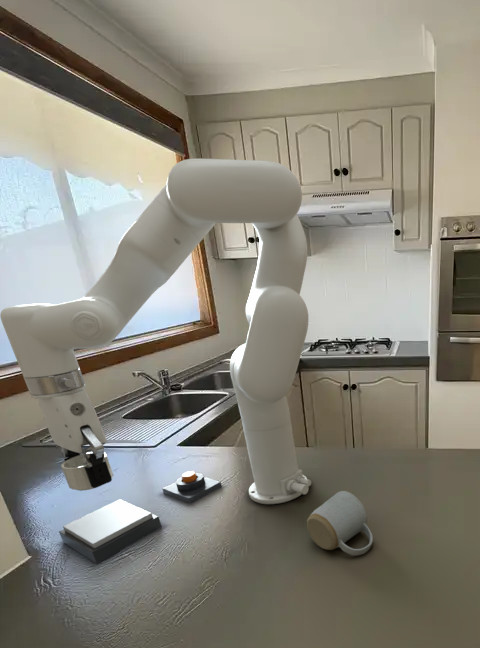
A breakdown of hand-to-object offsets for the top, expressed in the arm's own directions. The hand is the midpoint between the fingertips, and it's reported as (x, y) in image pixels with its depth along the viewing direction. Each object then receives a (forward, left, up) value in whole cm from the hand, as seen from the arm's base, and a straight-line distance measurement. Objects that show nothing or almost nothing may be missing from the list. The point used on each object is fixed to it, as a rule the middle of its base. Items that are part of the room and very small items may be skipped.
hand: (91, 479), depth 75 cm
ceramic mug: (-41, -19, -12) cm, 47 cm away
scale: (0, 0, -12) cm, 12 cm away
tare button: (+1, -18, -9) cm, 20 cm away
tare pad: (+1, -18, -12) cm, 22 cm away
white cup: (0, 0, -1) cm, 1 cm away
